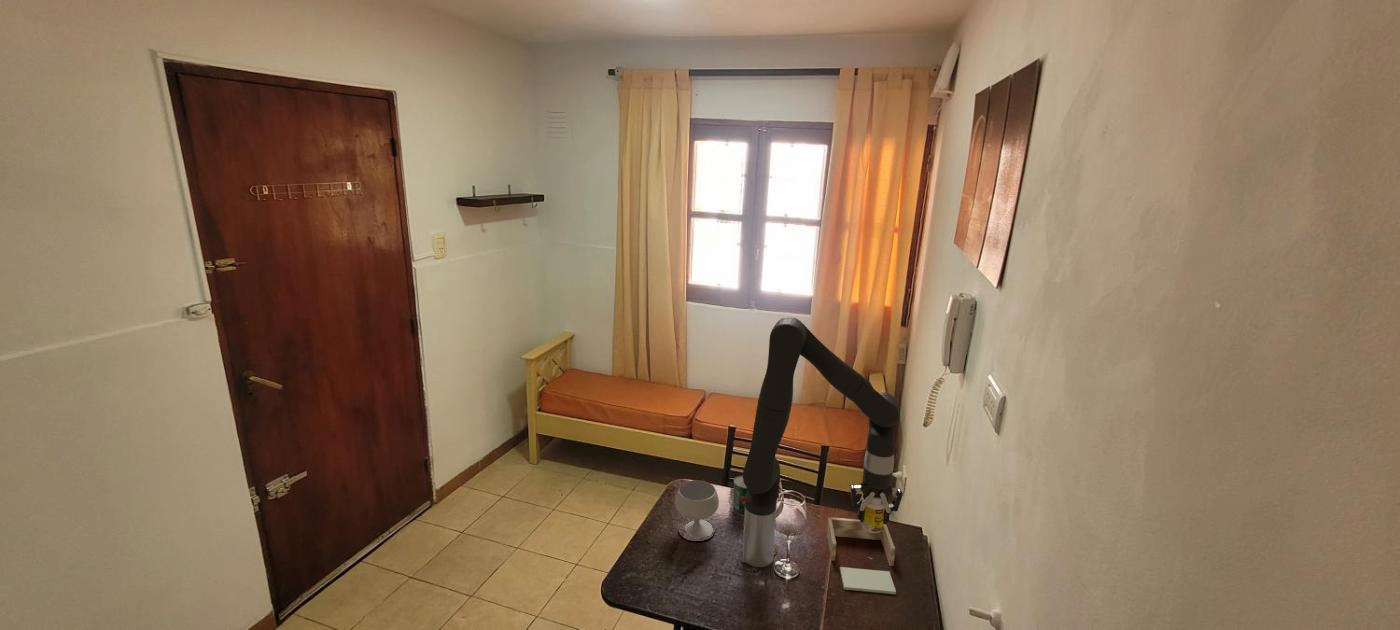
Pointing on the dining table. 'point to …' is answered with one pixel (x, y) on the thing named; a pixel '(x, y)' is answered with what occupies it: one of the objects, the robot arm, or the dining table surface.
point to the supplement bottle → (874, 515)
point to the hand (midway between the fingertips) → (872, 521)
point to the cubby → (857, 535)
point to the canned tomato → (739, 495)
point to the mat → (867, 580)
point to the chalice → (697, 506)
